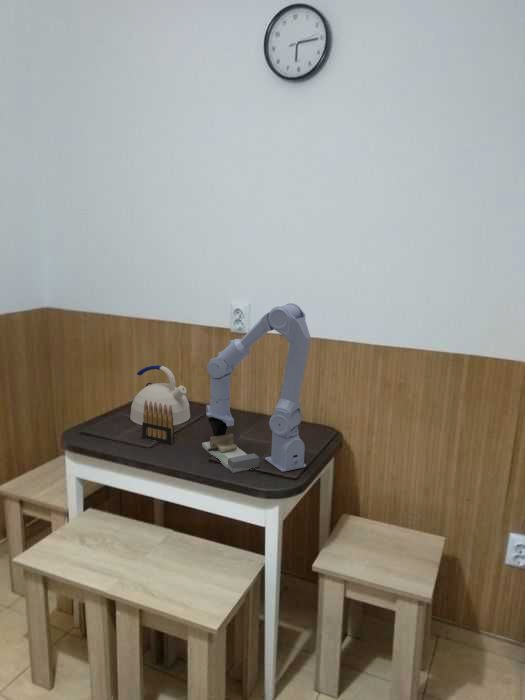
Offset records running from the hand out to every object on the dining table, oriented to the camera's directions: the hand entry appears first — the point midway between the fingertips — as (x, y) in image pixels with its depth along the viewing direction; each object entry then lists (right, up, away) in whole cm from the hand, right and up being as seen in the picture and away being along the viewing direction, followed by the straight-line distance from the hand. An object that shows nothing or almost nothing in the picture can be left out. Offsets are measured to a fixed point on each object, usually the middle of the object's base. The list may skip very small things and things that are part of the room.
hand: (218, 441), depth 158 cm
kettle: (-22, +4, +25) cm, 34 cm away
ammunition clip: (-19, -1, +4) cm, 19 cm away
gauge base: (+3, -3, -5) cm, 7 cm away
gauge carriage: (+1, -1, -4) cm, 4 cm away
